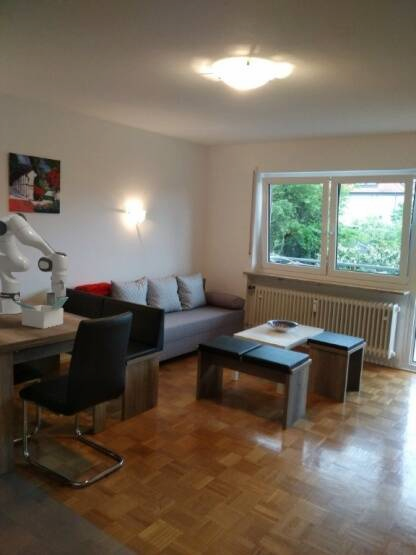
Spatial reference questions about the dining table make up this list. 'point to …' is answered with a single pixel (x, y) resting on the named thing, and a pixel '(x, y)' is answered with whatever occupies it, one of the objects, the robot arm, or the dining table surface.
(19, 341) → the dining table surface
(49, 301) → the coffee box
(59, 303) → the teal flap short
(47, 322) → the carton
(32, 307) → the teal flap long
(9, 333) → the dining table surface
